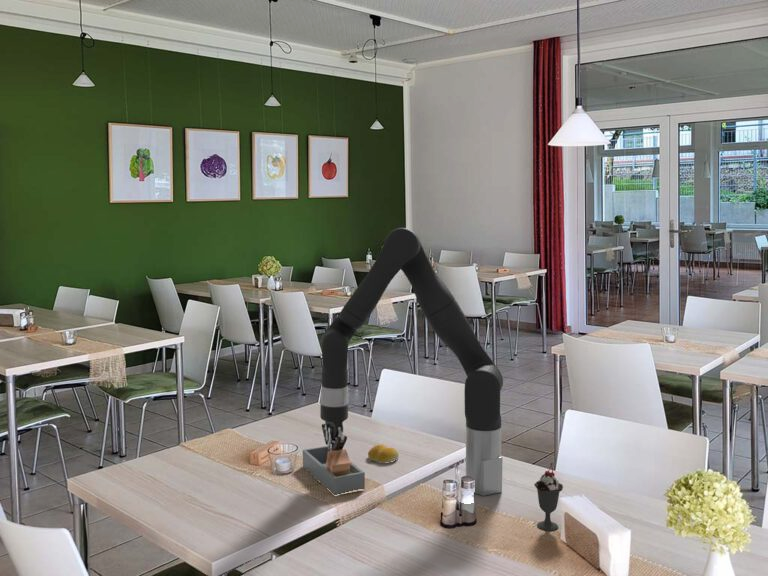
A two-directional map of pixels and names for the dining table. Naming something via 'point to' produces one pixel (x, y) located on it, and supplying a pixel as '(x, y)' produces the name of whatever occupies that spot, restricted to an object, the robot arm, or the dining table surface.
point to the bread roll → (382, 454)
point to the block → (338, 462)
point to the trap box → (317, 467)
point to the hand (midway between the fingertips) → (333, 462)
